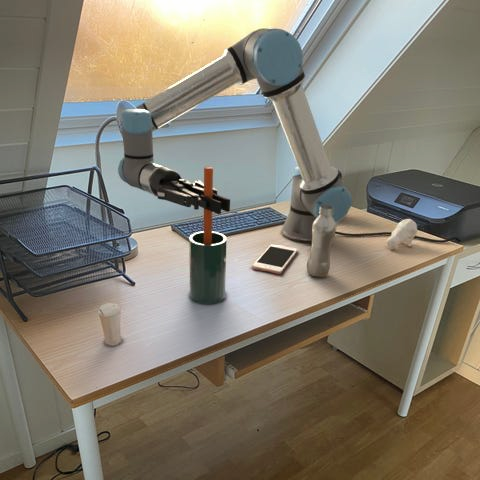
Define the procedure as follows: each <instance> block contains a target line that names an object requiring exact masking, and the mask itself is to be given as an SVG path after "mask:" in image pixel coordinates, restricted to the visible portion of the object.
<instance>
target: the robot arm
mask: <svg viewBox="0 0 480 480" xmlns="http://www.w3.org/2000/svg"><path fill="white" fill-rule="evenodd" d="M303 62H304V55H303V50H302V46H301V43H300V42H299V40H298V39H297V38H296V37H295V36H294V35H293V34H292V33H290V32H289V31H287V30H284V29H282V28H258V29H256V30H254V31H252V32H250V33H249V34H247V35H246V36H244V37H243V38H242V39H240V40H238V41H237V42H235V43H234V44H233V45H231V46H230V47H228V48H226V49H224V53H223V55H222V56H221V57H219V58H217V59H216V60H214V61H211V63H208V64H207V65H205V66H204V67H202V68H200V69H199V70H197V71H195V72H193V73H192V74H190V75H188V76H186V77H185V78H183V79H181V80H180V81H178V82H176V83H175V84H173V85H171V86H169V87H167V88H166V89H164V90H162V91H161V92H159V93H157V94H156V95H154V96H152V97H151V98H149V99H146V101H143V102H142V103H140V104H138V105H136V106H135V107H136V108H137V109H130V108H127V109H124V110H122V112H121V117H120V119H121V118H122V121H121V120H120V122H121V124H120V126H121V125H122V128H121V134H122V143H123V157H122V158H121V160H120V161H119V164H118V166H117V172H118V173H117V174H118V175H119V178H120V179H121V181H122V182H123V183H125V184H128V186H130V187H132V188H136V189H139V190H141V191H143V192H146V193H148V194H150V195H153V196H154V197H157V200H160V201H161V200H163V201H167V202H170V203H174V204H177V205H179V206H183V207H186V208H191V207H192V206H193V210H196V211H197V210H199V209H200V208H202V209H203V210H204V209H207V210H209V211H212V213H215V214H217V215H221V214H222V211H224V212H227V213H228V212H231V199H230V198H227V197H224V196H221V195H219V194H218V189H217V188H215V187H213V198H210V197H207V196H205V195H204V182H202V181H201V180H200V179H196V180H195V181H194V182H190V181H189V180H186V179H184V178H182V177H181V175H180V174H179V172H178V171H176V170H173V169H171V168H168V167H165V166H163V165H160V164H157V163H154V162H155V161H154V147H153V146H154V143H153V142H154V139H153V132H155V131H157V130H158V129H160V128H162V127H163V126H165V125H166V124H169V123H170V122H172V121H173V120H175V119H177V118H179V117H181V116H182V115H184V114H186V113H188V112H189V111H192V110H193V109H194V108H196V107H198V106H199V105H201V104H204V103H205V102H207V101H208V100H210V99H212V98H213V97H215V96H218V95H219V94H220V93H222V92H223V91H225V90H226V91H227V89H229V88H232V86H234V85H240V86H242V85H244V84H246V83H248V82H251V81H253V80H256V81H257V83H258V86H259V89H260V91H261V94H262V96H263V98H264V99H267V100H269V101H271V103H272V105H273V108H274V110H275V112H276V115H277V118H278V120H279V123H280V126H281V128H282V131H283V133H284V136H285V138H286V142H287V143H288V146H289V148H290V151H291V153H292V155H293V158H294V161H295V163H296V166H295V168H294V170H293V175H292V184H291V185H292V186H291V195H290V205H289V212H288V214H287V217H286V218H285V221H284V223H283V226H282V232H281V233H282V235H283V236H284V237H285V238H287V239H289V240H291V241H295V242H299V243H312V225H313V222H314V221H315V219H316V218H317V217H318V216H319V215H320V214H319V211H320V206H321V205H330V206H332V207H334V211H333V213H334V214H333V215H332V217H333V219H334V221H335V223H337V222H340V221H341V220H342V219H344V218H345V217H346V216H347V215H348V213H349V211H350V209H351V207H352V201H353V200H352V199H353V198H352V195H351V193H350V191H349V189H348V188H346V187H345V186H344V185H343V182H342V178H341V179H340V176H339V173H338V170H339V169H337V168H336V167H334V166H331V164H330V161H329V159H328V155H327V153H326V150H325V147H324V144H323V141H322V138H321V135H320V133H319V129H318V128H317V125H316V122H315V121H316V120H315V119H314V116H313V113H312V110H311V107H310V105H309V102H308V98H307V95H306V93H305V90H304V88H303V84H304V82H305V79H306V75H305V71H304V69H303ZM392 232H393V231H381V232H366V233H365V232H364V233H347V232H340V231H337V230H336V231H335V234H334V235H340V236H346V237H365V236H366V237H369V236H382V235H383V236H384V235H386V236H387V235H389V236H391V234H392ZM413 239H418V240H423V241H427V242H432V243H439V244H440V243H448V242H451V241H453V240H456V241H457V242H461V239H460V238H459V237H457V236H452V237H449V238H446V239H434V238H428V237H423V236H419V235H415V237H414V238H413Z"/></svg>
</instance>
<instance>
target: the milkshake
mask: <svg viewBox="0 0 480 480" xmlns="http://www.w3.org/2000/svg"><path fill="white" fill-rule="evenodd" d="M97 313H98V316H99V320H100V324H101V328H102V333H103V337H104V342H105V344H106V345H107V346H112V347H115V346H118V345H119V344H120V343H121V340H122V338H121V317H122V316H121V307H120V306H119V305H118V304H116V303H107V302H106V303H104V304H102V305H100V306H99V308H98V312H97Z"/></svg>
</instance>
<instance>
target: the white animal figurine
mask: <svg viewBox="0 0 480 480" xmlns="http://www.w3.org/2000/svg"><path fill="white" fill-rule="evenodd" d="M391 232H392V234H391V235H390V236H389V237H388V238H387V240H386V242H385V243H386V245H387V247H388V248H389V250H398V248H399V245H400V244H406V246H407V247H408V248H410V247H411V246H412V243H413V240H414V239H415V238H414V237H415V236H417V232H418V226H417V223H416V222H415V221H414V220H413V219H411V218H405V219H402V220H401V221H400V222H398V224H397V225H396V227H395V229H394V230H393V231H391Z"/></svg>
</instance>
